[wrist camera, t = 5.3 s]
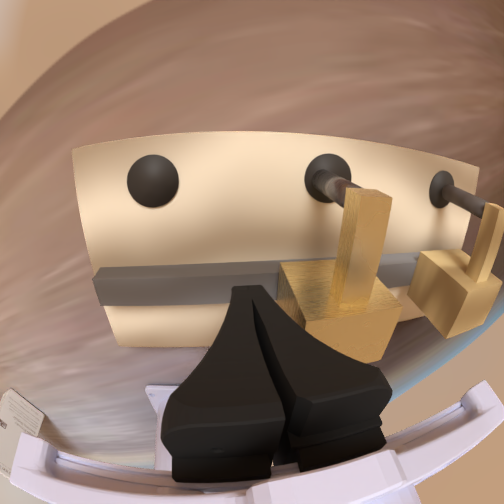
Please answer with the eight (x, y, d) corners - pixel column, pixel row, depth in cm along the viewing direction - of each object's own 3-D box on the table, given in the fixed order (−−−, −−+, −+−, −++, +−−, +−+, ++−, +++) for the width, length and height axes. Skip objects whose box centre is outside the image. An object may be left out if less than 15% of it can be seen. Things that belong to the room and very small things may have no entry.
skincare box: (46, 414, 22) (27, 489, 11) (36, 417, 22) (19, 485, 11) (9, 385, 19) (-19, 460, 8) (2, 391, 20) (-22, 459, 9)
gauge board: (427, 302, 19) (474, 355, 13) (123, 330, 16) (99, 417, 10) (464, 162, 14) (539, 193, 8) (85, 145, 11) (-5, 175, 5)
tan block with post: (340, 296, 15) (380, 359, 10) (271, 302, 14) (295, 377, 10) (361, 172, 12) (432, 204, 7) (279, 167, 11) (323, 199, 7)
